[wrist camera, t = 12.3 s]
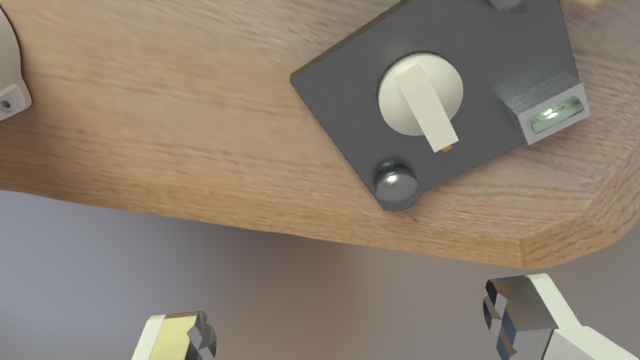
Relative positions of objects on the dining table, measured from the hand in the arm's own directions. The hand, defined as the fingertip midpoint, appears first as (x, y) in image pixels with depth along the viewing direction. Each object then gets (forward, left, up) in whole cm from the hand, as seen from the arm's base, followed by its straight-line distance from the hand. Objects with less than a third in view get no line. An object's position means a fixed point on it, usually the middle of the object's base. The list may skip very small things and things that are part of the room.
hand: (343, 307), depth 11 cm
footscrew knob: (+5, -11, -29) cm, 31 cm away
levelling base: (+7, -12, -31) cm, 34 cm away
